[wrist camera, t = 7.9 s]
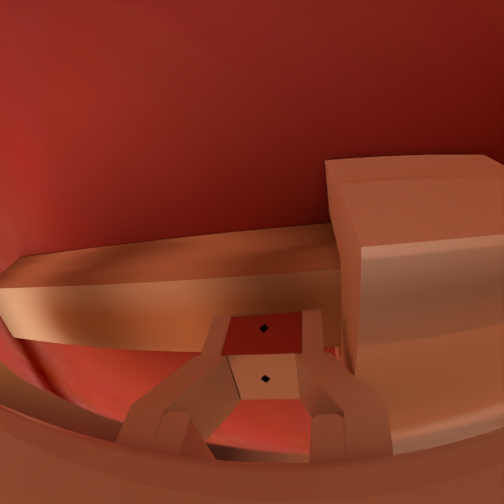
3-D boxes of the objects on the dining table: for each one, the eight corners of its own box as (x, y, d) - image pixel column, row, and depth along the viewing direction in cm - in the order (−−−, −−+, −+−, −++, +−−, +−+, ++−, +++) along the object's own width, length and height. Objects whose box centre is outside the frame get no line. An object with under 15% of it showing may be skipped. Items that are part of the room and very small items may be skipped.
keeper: (484, 149, 9) (606, 224, 3) (456, 324, 12) (502, 435, 7) (324, 154, 10) (360, 247, 4) (333, 340, 14) (341, 470, 8)
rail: (579, 177, 8) (649, 225, 4) (554, 286, 11) (600, 349, 7) (9, 232, 13) (-54, 284, 9) (53, 323, 16) (9, 383, 12)
